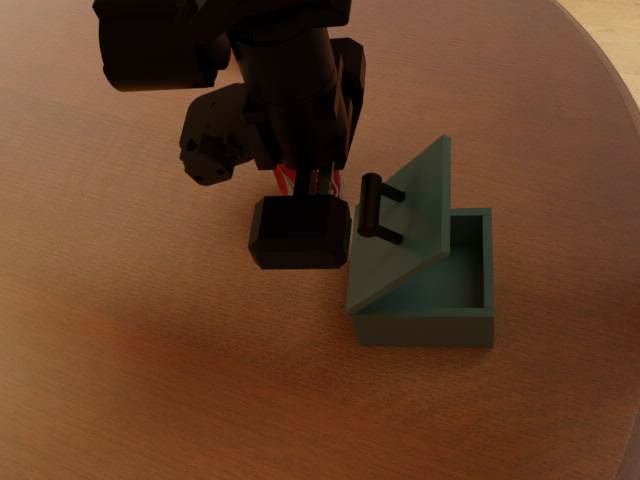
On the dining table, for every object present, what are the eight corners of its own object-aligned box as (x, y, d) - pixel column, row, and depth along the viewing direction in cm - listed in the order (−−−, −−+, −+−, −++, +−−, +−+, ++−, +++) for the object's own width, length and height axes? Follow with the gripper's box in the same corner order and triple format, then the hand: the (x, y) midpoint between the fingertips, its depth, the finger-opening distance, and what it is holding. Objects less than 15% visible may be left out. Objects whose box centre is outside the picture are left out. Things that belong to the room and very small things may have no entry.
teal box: (491, 243, 70) (491, 207, 65) (493, 347, 64) (494, 316, 59) (367, 244, 72) (359, 210, 67) (359, 345, 66) (349, 315, 62)
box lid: (451, 137, 58) (403, 112, 56) (450, 254, 52) (396, 231, 50) (362, 209, 67) (318, 189, 65) (353, 314, 61) (304, 296, 60)
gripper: (194, -18, 53) (252, 129, 65) (132, 197, 43) (214, 320, 56) (350, -33, 50) (378, 123, 63) (323, 191, 40) (363, 321, 53)
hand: (332, 214), depth 59 cm, fingers open, 9 cm apart
